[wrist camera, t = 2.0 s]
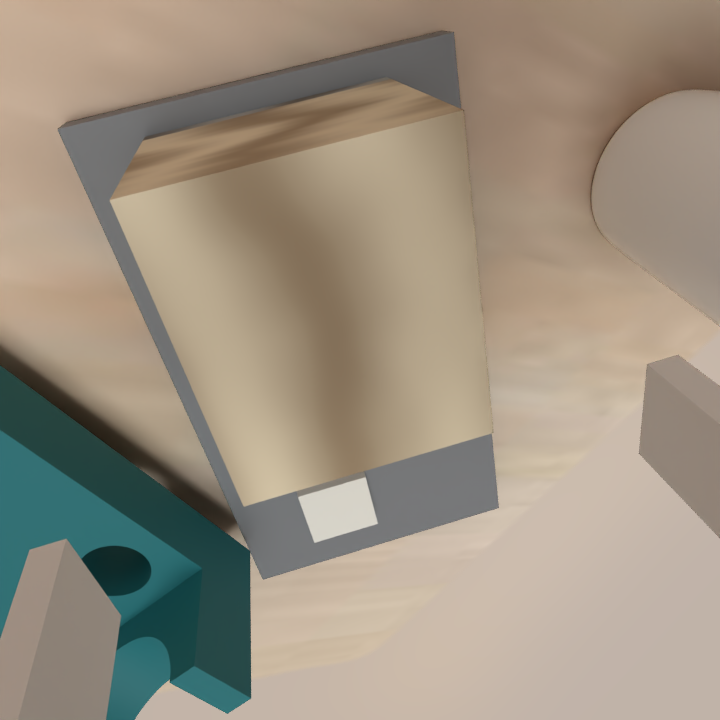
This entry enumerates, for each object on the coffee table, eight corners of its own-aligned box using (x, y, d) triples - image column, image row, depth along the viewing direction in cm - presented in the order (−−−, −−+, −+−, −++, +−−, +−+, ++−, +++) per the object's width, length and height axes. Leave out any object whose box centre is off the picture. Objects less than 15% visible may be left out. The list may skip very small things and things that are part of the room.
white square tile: (362, 465, 34) (365, 477, 34) (374, 511, 37) (377, 523, 36) (295, 485, 34) (298, 497, 33) (312, 530, 36) (314, 542, 36)
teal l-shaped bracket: (249, 533, 36) (250, 698, 27) (122, 624, 38) (83, 807, 29) (-11, 334, 28) (-137, 477, 18) (-159, 463, 29) (-339, 651, 20)
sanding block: (386, 76, 24) (463, 110, 16) (425, 326, 30) (493, 433, 23) (144, 137, 23) (109, 200, 16) (237, 379, 30) (243, 506, 22)
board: (441, 30, 25) (453, 32, 24) (489, 492, 40) (498, 507, 39) (65, 122, 24) (57, 129, 23) (261, 561, 39) (262, 579, 38)
